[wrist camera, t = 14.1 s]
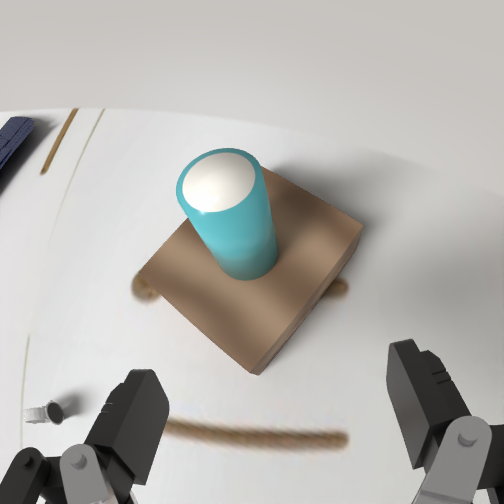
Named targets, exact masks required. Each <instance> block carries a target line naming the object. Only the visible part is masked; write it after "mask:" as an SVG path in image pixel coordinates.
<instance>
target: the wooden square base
mask: <svg viewBox="0 0 504 504" xmlns="http://www.w3.org/2000/svg"><path fill="white" fill-rule="evenodd" d="M261 168H262V172H263V177H264V181H265V186H266V190H267V195H268V199H269V204H270V209H271V213H272V218H273V223H274V227H275V232H276V237H277V242H278V247H279V252H278V258H277V260H276V263H275V264H274V266H273V267H272V268H271V270H270V271H269V272H267V273H266V274H265V275H263V276H262V277H259V278H257V279H254V280H248V281H242V280H236V279H234V278H231V277H229V276H228V275H227V274H225V273H224V272H223V270H222V269H221V268H220V266H219V265H218V263H217V262H216V260H215V259H214V257H213V256H212V254H211V252H210V251H209V249H208V248H207V246H206V245H205V243H204V242H203V240H202V239H201V237H200V235H199V234H198V232H197V231H196V229H195V228H194V226H193V224H192V223H191V221H190V220H189V218H187V219H186V220H185V221H184V222H183V223H182V224H181V225H180V227H179V228H178V229H177V230H176V231H175V232H174V233H173V234H172V235H171V236H170V237H169V239H168V240H167V241H166V242H165V243H164V244H163V245H162V246H161V247H160V248H159V250H158V251H157V252H156V253H155V254H154V255H153V256H152V257H151V259H150V260H149V261H148V262H147V263H146V264H145V265H144V267H143V268H142V269H141V270H140V271H139V272H138V273H139V274H140V275H141V276H142V277H143V278H144V279H145V280H146V281H147V282H148V283H149V284H151V285H152V286H153V287H154V288H155V289H156V290H157V291H158V292H159V293H160V294H161V295H162V296H163V297H164V298H165V299H166V300H167V301H168V302H169V303H170V304H171V305H172V306H174V307H175V308H176V309H177V310H178V311H179V312H180V313H181V314H182V315H183V316H184V317H185V318H187V319H188V320H189V321H190V322H191V323H192V324H193V325H194V326H195V327H197V328H198V329H199V330H200V331H201V332H202V333H203V334H204V335H206V336H207V337H208V338H209V339H210V340H211V341H212V342H214V343H215V344H216V345H217V346H218V347H219V348H220V349H222V350H223V351H224V352H225V353H226V354H227V355H229V356H230V357H231V358H232V359H233V360H235V361H236V362H237V363H238V364H239V365H241V366H242V367H243V368H244V369H245V370H247V371H248V372H249V373H252V374H255V375H259V374H260V373H261V372H262V371H263V370H264V368H265V367H266V366H267V365H268V364H269V362H270V361H271V360H272V359H273V358H274V356H275V355H276V354H277V353H278V351H279V350H280V349H281V348H282V347H283V345H284V344H285V343H286V342H287V340H288V339H289V338H290V337H291V335H292V334H293V333H294V332H295V330H296V329H297V328H298V327H299V325H300V324H301V323H302V321H303V320H304V319H305V318H306V316H307V315H308V314H309V312H310V311H311V310H312V309H313V307H314V306H315V305H316V303H317V302H318V301H319V299H320V298H321V297H322V295H323V294H324V293H325V291H326V290H327V289H328V287H329V286H330V285H331V283H332V282H333V281H334V279H335V278H336V276H337V275H338V274H339V272H340V271H341V270H342V268H343V267H344V265H345V264H346V263H347V261H348V260H349V258H350V257H351V256H352V254H353V253H354V251H355V250H356V248H357V245H358V242H359V238H360V235H361V232H362V228H363V225H362V224H361V223H359V222H358V221H356V220H354V219H353V218H351V217H349V216H348V215H346V214H344V213H343V212H341V211H340V210H338V209H336V208H335V207H333V206H331V205H329V204H328V203H326V202H324V201H323V200H321V199H319V198H318V197H316V196H314V195H312V194H311V193H309V192H307V191H305V190H304V189H302V188H300V187H298V186H297V185H295V184H293V183H291V182H290V181H288V180H286V179H284V178H282V177H281V176H279V175H277V174H275V173H273V172H271V171H270V170H268V169H266V168H264V167H262V166H261Z"/></svg>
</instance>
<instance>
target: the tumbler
mask: <svg viewBox="0 0 504 504" xmlns="http://www.w3.org/2000/svg"><path fill="white" fill-rule="evenodd" d="M176 196H177V199H178V202H179V204H180V206H181V207H182V209H183V210H184V212H185V213H186V215H187V217H188V218H189V220H190V221H191V223H192V224H193V226H194V228H195V229H196V231H197V232H198V234H199V235H200V237H201V239H202V240H203V242H204V243H205V245H206V246H207V248H208V249H209V251H210V252H211V254H212V256H213V257H214V259H215V260H216V262H217V263H218V265H219V266H220V268H221V269H222V270H223V272H224V273H225V274H227V275H228V276H229V277H231V278H234V279H236V280H242V281H248V280H254V279H257V278H259V277H262V276H263V275H265V274H266V273H267V272H269V271H270V270H271V268H272V267H273V266H274V264H275V263H276V260H277V258H278V252H279V247H278V242H277V237H276V232H275V227H274V223H273V218H272V213H271V209H270V204H269V199H268V195H267V190H266V186H265V181H264V177H263V172H262V168H261V166H260V164H259V162H258V161H257V160H256V158H255V157H253V156H252V155H251V154H249V153H247V152H245V151H243V150H239V149H234V148H223V149H217V150H213V151H209V152H207V153H205V154H202V155H201V156H199V157H197V158H196V159H194V160H193V161H192V162H191V163H189V164H188V165H187V166H186V168H185V169H184V170H183V172H182V173H181V175H180V177H179V179H178V182H177V186H176Z"/></svg>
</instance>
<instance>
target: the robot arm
mask: <svg viewBox="0 0 504 504" xmlns="http://www.w3.org/2000/svg"><path fill="white" fill-rule="evenodd" d="M386 382H387V390H388V394H389V397H390V399H391V402H392V405H393V408H394V411H395V414H396V417H397V420H398V423H399V426H400V429H401V432H402V435H403V438H404V441H405V445H406V448H407V451H408V454H409V458H410V461H411V464H412V468H413V469H417V468H420V467H424V470H425V473H426V476H425V478H424V480H423V482H422V484H421V486H420V488H419V490H418V492H417V494H416V496H415V498H414V500H413V502H412V503H411V504H473V503H472V502H473V498H474V495H475V492H476V490H479V489H487V492H488V496H489V499H490V503H491V504H504V424H503V425H488V424H487V423H486V422H485V421H484V420H483V419H481V418H479V417H476V416H472V415H471V413H470V412H469V410H468V408H467V406H466V404H465V402H464V400H463V399H462V397H461V395H460V393H459V391H458V389H457V388H456V386H455V384H454V382H453V381H451V377H450V375H449V374H448V372H446V368H445V367H444V365H443V363H442V362H441V360H440V358H438V357H437V356H436V355H434V354H433V353H432V352H430V351H429V350H427V351H423V352H420V351H419V349H418V347H417V345H416V344H415V342H414V340H413V339H407V340H403V341H398V342H394V343H390V345H389V353H388V365H387V375H386ZM105 403H106V404H105V405H104V406H103V408H102V409H101V413H99V415H98V417H97V419H96V421H95V423H94V425H93V426H92V428H91V430H90V432H89V434H88V436H87V438H86V440H85V442H84V443H83V444H77V445H74V446H71V447H70V448H68V449H67V450H66V451H65V452H64V453H63V454H62V456H59V457H44V456H43V455H42V454H41V453H40V451H39V450H38V449H36V448H33V447H28V448H25V449H23V450H21V451H20V452H18V453H17V455H16V456H15V457H14V459H13V461H12V463H11V465H10V467H9V469H8V471H7V472H6V474H5V476H4V478H3V480H2V482H1V484H0V504H36V502H37V500H38V498H39V495H40V496H41V497H43V498H44V499H45V500H46V502H45V504H138V502H137V500H136V498H135V496H134V494H133V492H132V491H131V488H132V485H133V484H139V485H145V484H146V481H147V478H148V475H149V472H150V469H151V466H152V463H153V460H154V457H155V454H156V451H157V448H158V445H159V442H160V439H161V436H162V433H163V430H164V427H165V424H166V421H167V418H168V415H169V401H168V398H167V396H166V394H165V392H164V390H163V388H162V386H161V384H160V382H159V380H158V378H157V376H156V374H155V372H154V371H153V370H151V369H133V370H131V371H130V372H129V374H128V376H127V378H126V380H125V381H124V383H120V384H119V385H118V386H117V387H116V388H115V389H114V390H113V391H112V392H111V393H110V395H109V397H108V398H107V400H106V402H105Z"/></svg>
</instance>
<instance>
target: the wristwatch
mask: <svg viewBox="0 0 504 504" xmlns="http://www.w3.org/2000/svg"><path fill="white" fill-rule="evenodd" d="M23 414H24V419H25V422H26V423H33V424H37V423H47V422H51V423H53V424H55V425H60V424H61V423H62V422H63V420H64V416H63V411H62V408H61V407H60V406H59V405H58V404H57V403H55V402H53V401H52V400H51V402H49V403H48V404H47V405H46V406H42V407H41V408H30V409H25V410H24V411H23Z"/></svg>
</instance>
